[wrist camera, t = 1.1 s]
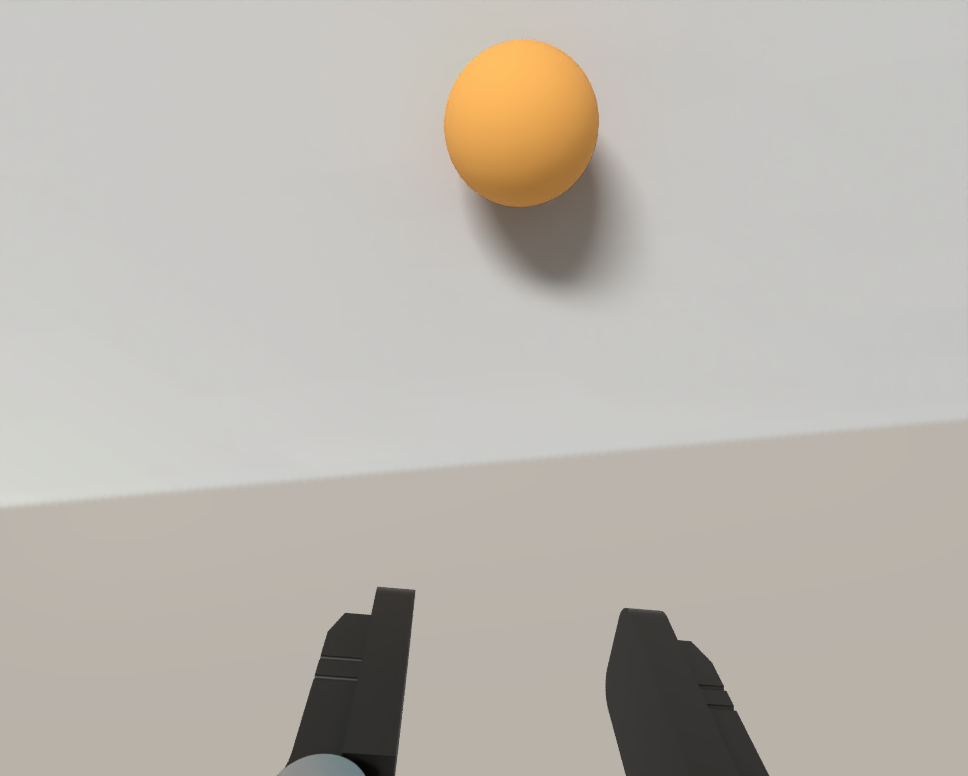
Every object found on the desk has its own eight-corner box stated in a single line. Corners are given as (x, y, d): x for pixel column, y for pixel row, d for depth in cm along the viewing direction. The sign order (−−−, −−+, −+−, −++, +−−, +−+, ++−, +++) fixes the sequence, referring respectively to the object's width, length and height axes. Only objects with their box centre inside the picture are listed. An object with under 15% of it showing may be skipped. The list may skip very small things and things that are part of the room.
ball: (594, 66, 24) (630, 36, 19) (571, 211, 26) (597, 220, 21) (453, 45, 24) (451, 10, 19) (439, 194, 26) (433, 200, 20)
